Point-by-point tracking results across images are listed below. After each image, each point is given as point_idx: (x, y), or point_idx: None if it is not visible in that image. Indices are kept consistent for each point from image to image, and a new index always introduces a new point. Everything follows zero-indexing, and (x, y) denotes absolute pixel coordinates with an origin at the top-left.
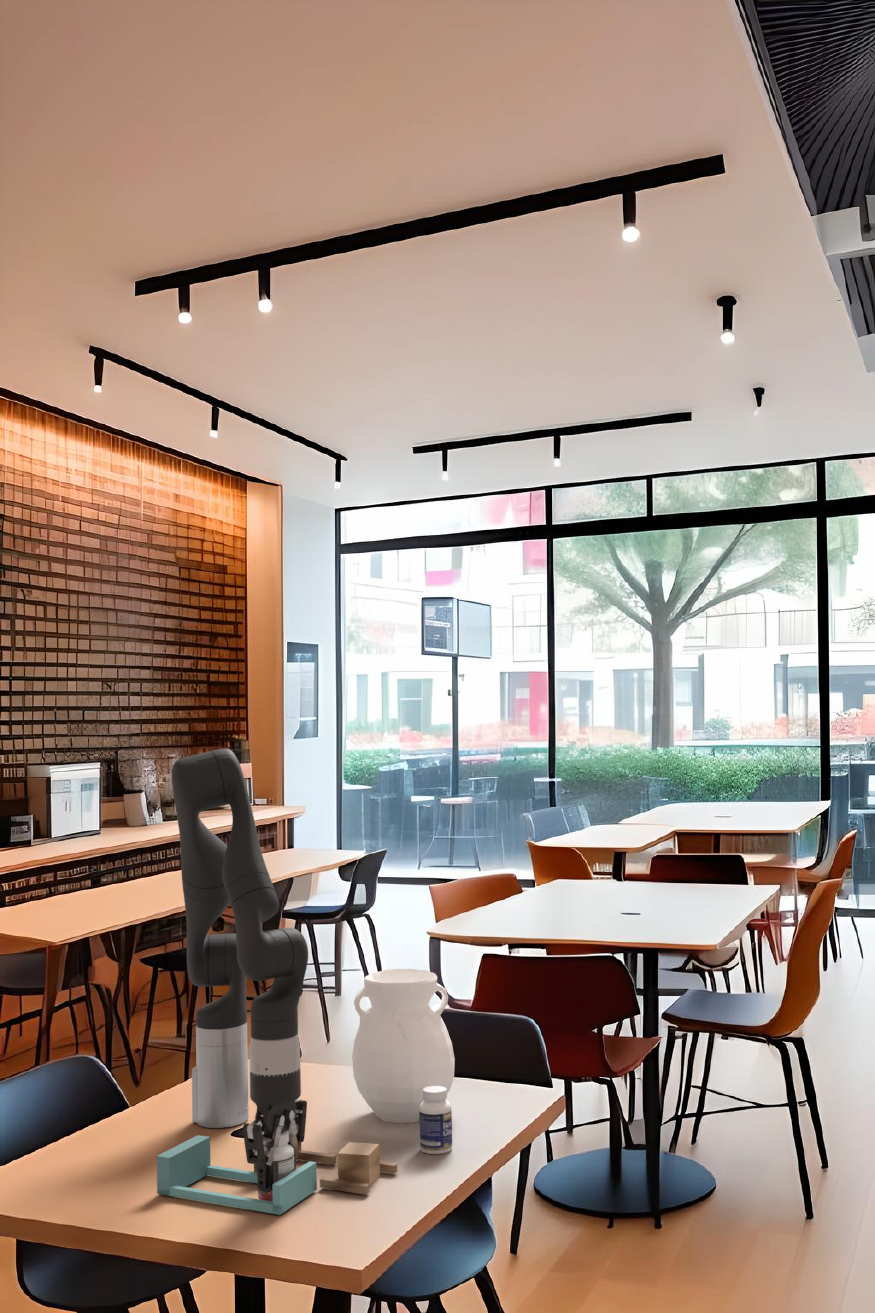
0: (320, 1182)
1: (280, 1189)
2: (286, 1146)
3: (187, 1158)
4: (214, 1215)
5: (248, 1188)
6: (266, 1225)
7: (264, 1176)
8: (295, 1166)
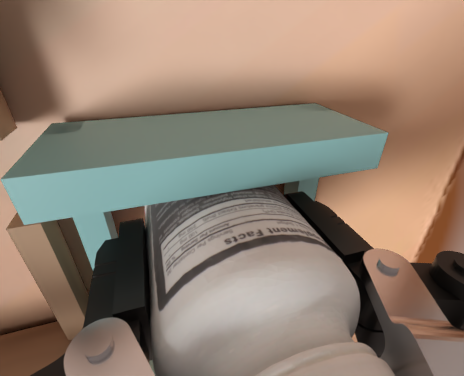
0: (6, 132)
1: (367, 128)
2: (280, 334)
3: None
4: None
5: None
6: (365, 103)
7: (350, 232)
8: (97, 255)
